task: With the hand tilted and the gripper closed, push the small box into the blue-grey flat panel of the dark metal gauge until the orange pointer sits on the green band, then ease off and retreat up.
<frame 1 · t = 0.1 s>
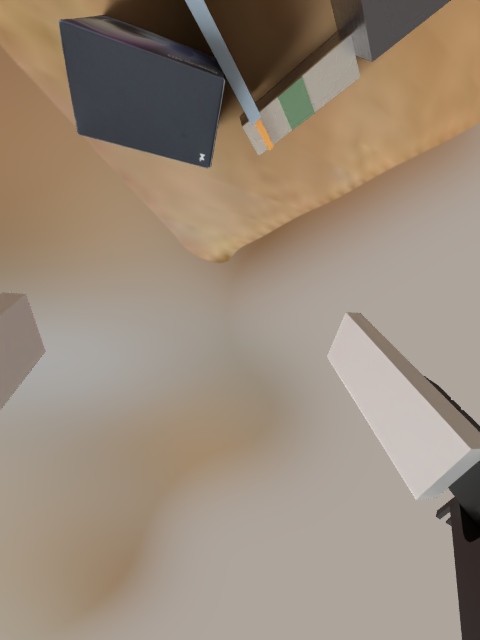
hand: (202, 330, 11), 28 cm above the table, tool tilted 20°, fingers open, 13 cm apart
small box: (163, 79, 25), on the table
blue-grey flat panel: (226, 60, 21), point 4 cm above the table, slide at 0.0 cm
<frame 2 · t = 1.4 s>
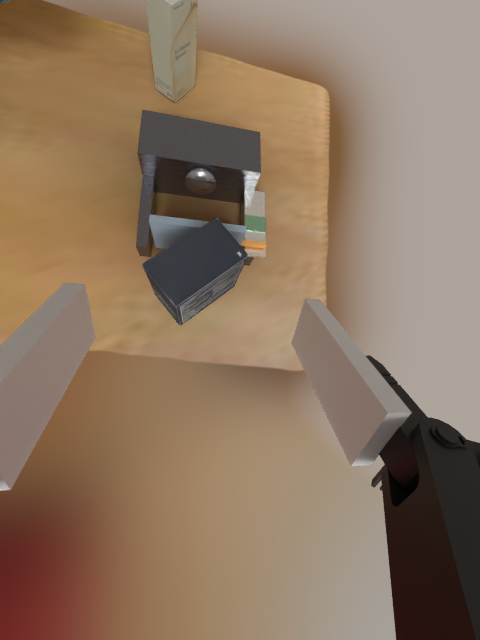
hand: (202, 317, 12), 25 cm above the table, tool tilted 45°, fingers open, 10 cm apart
small box: (195, 289, 38), on the table
blue-grey flat panel: (212, 238, 36), point 4 cm above the table, slide at 0.0 cm
skincare box: (175, 87, 45), on the table
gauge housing: (199, 211, 41), on the table
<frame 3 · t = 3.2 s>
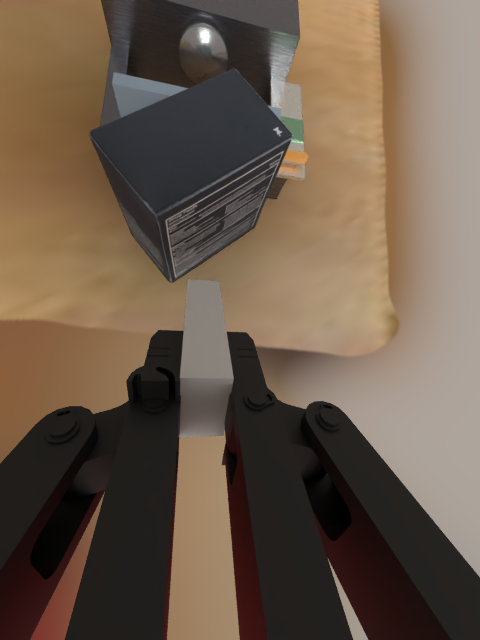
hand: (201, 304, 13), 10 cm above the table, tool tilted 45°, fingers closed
small box: (195, 230, 25), on the table
blue-grey flat panel: (222, 141, 22), point 4 cm above the table, slide at 0.0 cm
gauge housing: (200, 117, 27), on the table
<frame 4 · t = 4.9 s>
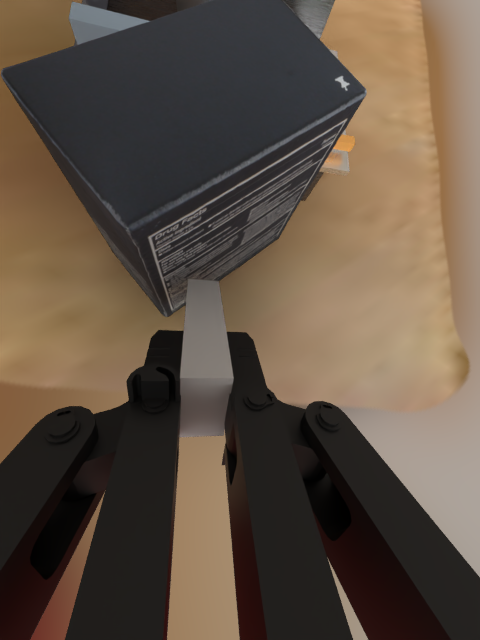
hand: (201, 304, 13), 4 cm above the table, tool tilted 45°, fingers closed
small box: (199, 242, 18), on the table, touching gripper
blue-grey flat panel: (237, 119, 16), point 4 cm above the table, slide at 0.0 cm
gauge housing: (205, 95, 21), on the table
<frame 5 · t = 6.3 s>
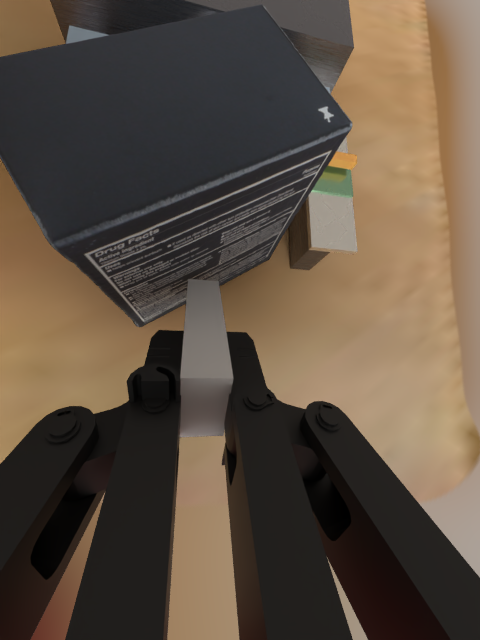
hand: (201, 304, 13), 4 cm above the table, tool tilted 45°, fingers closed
small box: (186, 254, 18), on the table, touching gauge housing, blue-grey flat panel, gripper
blue-grey flat panel: (238, 138, 15), point 4 cm above the table, slide at 4.6 cm, touching small box
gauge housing: (203, 157, 20), on the table
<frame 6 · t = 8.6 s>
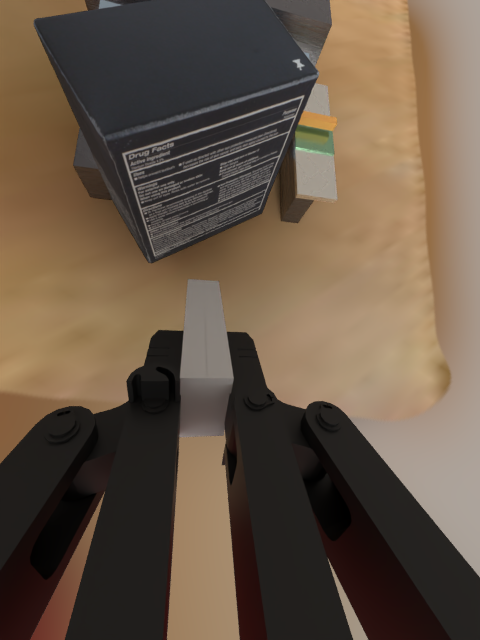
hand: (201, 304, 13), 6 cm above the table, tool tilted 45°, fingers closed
small box: (190, 207, 21), on the table
blue-grey flat panel: (235, 100, 18), point 4 cm above the table, slide at 4.6 cm
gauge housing: (205, 125, 22), on the table
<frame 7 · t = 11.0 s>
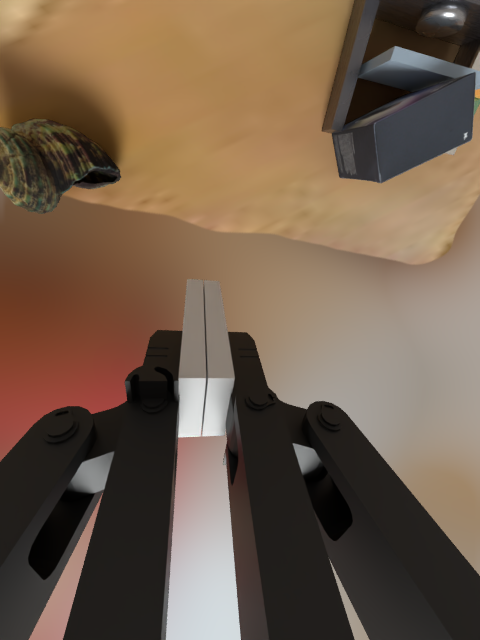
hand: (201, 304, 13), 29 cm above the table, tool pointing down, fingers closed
small box: (369, 137, 36), on the table
blue-grey flat panel: (433, 80, 29), point 4 cm above the table, slide at 4.6 cm
seashell: (70, 169, 33), on the table
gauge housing: (404, 59, 31), on the table
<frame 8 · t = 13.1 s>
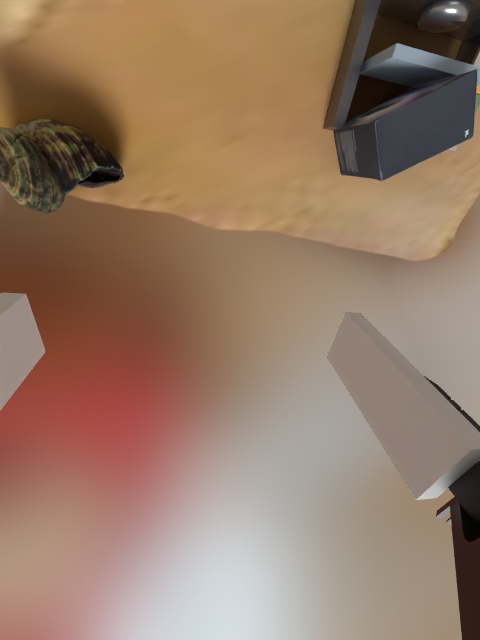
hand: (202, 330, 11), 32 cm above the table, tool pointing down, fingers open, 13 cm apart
small box: (371, 134, 36), on the table
blue-grey flat panel: (435, 76, 29), point 4 cm above the table, slide at 4.6 cm
seashell: (73, 168, 33), on the table
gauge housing: (406, 55, 31), on the table
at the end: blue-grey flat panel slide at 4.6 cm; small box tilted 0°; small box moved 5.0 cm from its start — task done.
